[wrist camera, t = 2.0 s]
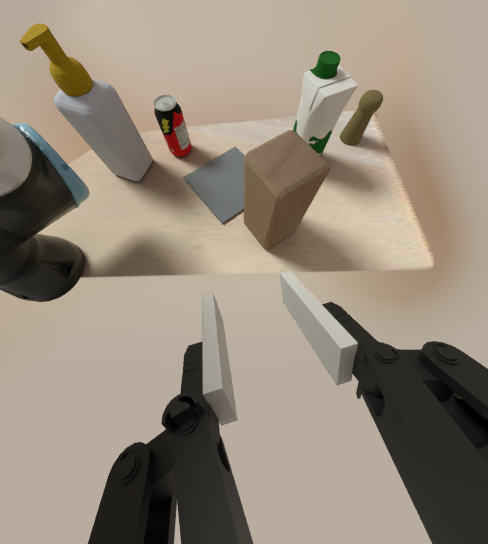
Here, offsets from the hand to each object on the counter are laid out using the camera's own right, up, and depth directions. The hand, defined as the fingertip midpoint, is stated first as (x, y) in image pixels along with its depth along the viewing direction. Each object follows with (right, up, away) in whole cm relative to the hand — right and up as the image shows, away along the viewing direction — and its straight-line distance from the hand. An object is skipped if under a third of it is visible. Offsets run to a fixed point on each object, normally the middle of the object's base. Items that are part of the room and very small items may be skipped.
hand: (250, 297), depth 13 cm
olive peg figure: (+32, +43, +42) cm, 68 cm away
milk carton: (+16, +35, +40) cm, 55 cm away
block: (+6, +13, +34) cm, 37 cm away
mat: (-5, +26, +37) cm, 46 cm away
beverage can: (-19, +37, +40) cm, 58 cm away
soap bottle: (-32, +31, +38) cm, 59 cm away
